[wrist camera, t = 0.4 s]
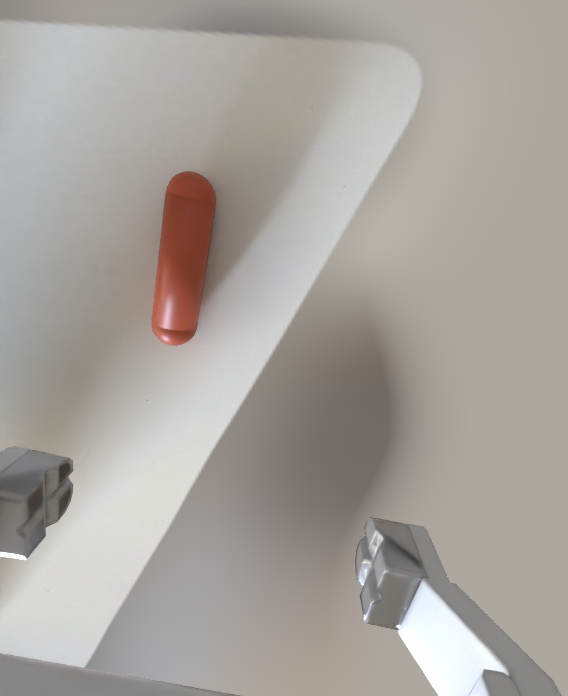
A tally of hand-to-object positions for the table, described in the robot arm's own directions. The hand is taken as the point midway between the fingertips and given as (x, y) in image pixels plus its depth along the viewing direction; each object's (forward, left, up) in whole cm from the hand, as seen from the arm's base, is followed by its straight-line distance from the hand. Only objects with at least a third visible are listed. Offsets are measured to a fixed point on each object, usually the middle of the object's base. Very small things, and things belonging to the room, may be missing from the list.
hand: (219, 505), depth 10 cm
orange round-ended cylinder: (-4, -6, -15) cm, 17 cm away
